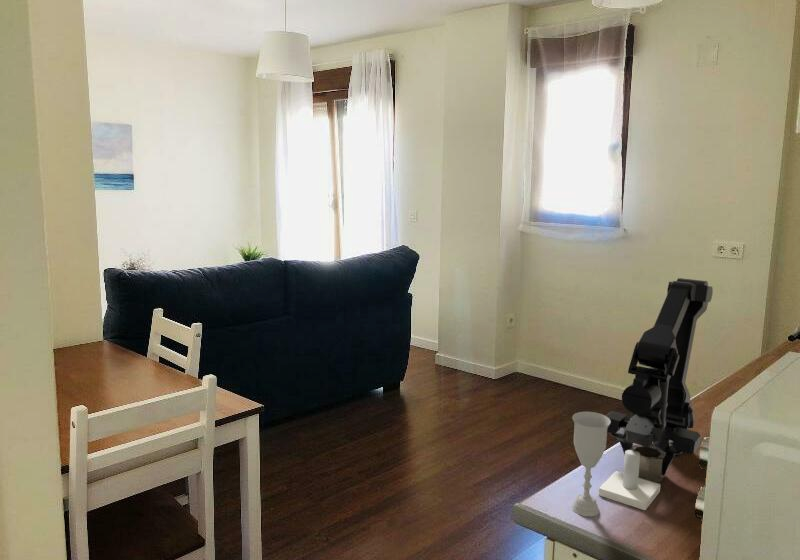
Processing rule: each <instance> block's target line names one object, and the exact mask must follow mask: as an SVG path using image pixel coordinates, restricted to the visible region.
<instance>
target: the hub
mask: <svg viewBox="0 0 800 560" xmlns="http://www.w3.org/2000/svg"><path fill="white" fill-rule="evenodd" d="M629 450H634V451H637V452H639V453H640V464H639V476H638V478H641V479H644V480H647V481H651V482H654V483H659V482H660V483H661V482H662V481H663V479H664V478H665V477H664V476H666V474H665V475H664V476H663V475H662V469H663V464H664V459H665V454H666V453H665V452H664V451H662V450H661V449H660V448H657V447H654V446H649V447H643V446H642V445H639V444H633V446H632V447H631V448H630V449H629ZM663 477H664V478H663ZM661 480H662V481H661Z"/></svg>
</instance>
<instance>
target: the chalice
mask: <svg viewBox="0 0 800 560" xmlns="http://www.w3.org/2000/svg"><path fill="white" fill-rule="evenodd" d="M571 419H572V421H573V423H574V426H573V427H574V430H573V447H574V449H575V453H576V455H577V457H578V460H579V462H580V464H581V466H583V467H584V468H585V472H584V474H583V478H584V482H583V483H582V487H583V490H584V491H583V493H582V494H579V495H577V497H576V499H575V500H574V501H573V504H572V506H571V509H572V508H573V509H572V511H573V510H574V511H575V512H574V511H573V512H574V513H576V514H577V513H578V514H577V515H579V514H580V516H582V517H583V516H584V517H596V516H598V515H599V514H600V509H599V505H598V504H597V500H596V498H595V497H594V496H592V494H590V489H591V488H592V487H593V485H592V484H591V479H592V478H593V475H592V472H591V470H592V468H596V466H597V465H598V463H599V462H600V460H601V459H602V457H603V455H604V452H605V451H606V449H607V438H608V432H607V428H608V426H609V425H610V423H611V421H610V419H609V418H608V417H606V414H602V413H598V412H594V411H580V412H579V411H578V412H575V413H574V414H573V415H572V417H571Z"/></svg>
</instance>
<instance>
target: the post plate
mask: <svg viewBox="0 0 800 560" xmlns="http://www.w3.org/2000/svg"><path fill="white" fill-rule="evenodd" d="M639 464H640V453H639V452H637V451H634V450H627V451H625V455H624V461H623V472H620V471H618V470H615V471H614V472H613V473H612V474H611V475H610V476H609V477H608V478H607V479H606V480H605V481H604V482H603V484H601V486H600V487H599V488H598V496H600V497H604V498H607V499H610V500H613V501H615V502H617V503H618V502H619V503H622V504H625V505H628V506H631V507H633V508H636V509H640V510H641V511H642V510H643V511H646V510H647V509H648V508H649V507H650V505H651V503H653V501H654V500H655V498H656V497H657V496H658V494H659V493H660V492H661V486H662V485H661V484H660V483H658V482H651V481H647V480H644V479H641V478H638V476H639Z"/></svg>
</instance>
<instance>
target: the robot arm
mask: <svg viewBox="0 0 800 560" xmlns="http://www.w3.org/2000/svg"><path fill="white" fill-rule="evenodd" d="M713 292H714V290H713V286H709V283H708V280H699V279H690V278H682V277H678V278H677V280H673V281H668V286H667V294H666V297H665V299H664V301H663V304H662V306H661V308H660V311H659V313H658V316H657V318H656V321H655V323H654V325H653V326H652V327H651V328H649V329H648V330H646V331H644V332H643V334H642V335H641V337H640V339H639V340H638V341H637V342H636V343H635V345H634V349H633V352H632V356H631V359H630V364H629V366H628V371H627V373H628V374H631V375H635V377H634V378H633V382H632V383H631V384H629V385H628V386H627V387H626V388H625V389H624V390H623V392H622V394H621V402H622V404H623V406H624V408H625V409H626V410H627V411H629V412H630V413H632V415H631V417H630V419H629V415H628V414H627V413H626V414H625V413H622V412H618V411H614V410H611V411H609V412H608V413H607V414H605V416H606V417H608V418H609V419H610V421H611V423H610V425H609V426H608V428H607V433H610V435H611V436H612V437H613V438H615V439H617V441H618V442H619V444H620V446H621V449H622V451H623V455H624V456H625V451H627V450H629V449H630V448H631V447H632V446H633V445H642V446H643V447H649V446H654V447H657V448H660V449H661V450H662V451H664V452H665V453H666V454H665V459H664V464H663V469H662V475H663V476H664V475H665V476H666V474H667V471H668V469H669V468H670V466H671V464H672V462H673V460H674V458H675V456H678V457H679V456H681V455H682V453H684V454H688V455H694V454H695V453H696V451H697V450H698V449H699V448H700V446H701V441H702V436H701V434H700V432H699V431H696V430H695V431H694V430H691V429H693V428H694V426H695V413H694V408H693V405H692V403H691V397H692V396H691V393H690V392H689V388H688V386H687V384H686V383H687V381H686V380H687V375H688V371H689V370H688V369H689V366H690V365H689V364H690V359H691V354H692V347H693V342H694V337H695V332H696V326H697V321H698V319H700V317H701V316H703V314H704V313H705V312H706V311H707V309H708V305H709V303H711V301H712V297H713ZM638 365H639V366H638Z"/></svg>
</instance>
